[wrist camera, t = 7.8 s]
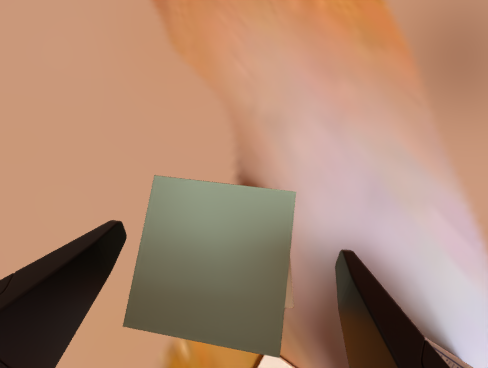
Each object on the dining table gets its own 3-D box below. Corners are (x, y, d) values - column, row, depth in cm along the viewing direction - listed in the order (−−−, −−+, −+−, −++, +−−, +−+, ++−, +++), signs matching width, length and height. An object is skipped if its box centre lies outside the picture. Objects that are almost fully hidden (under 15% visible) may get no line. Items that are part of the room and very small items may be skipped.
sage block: (273, 286, 17) (279, 358, 7) (204, 274, 18) (123, 326, 8) (281, 214, 18) (295, 191, 8) (215, 205, 18) (154, 175, 9)
